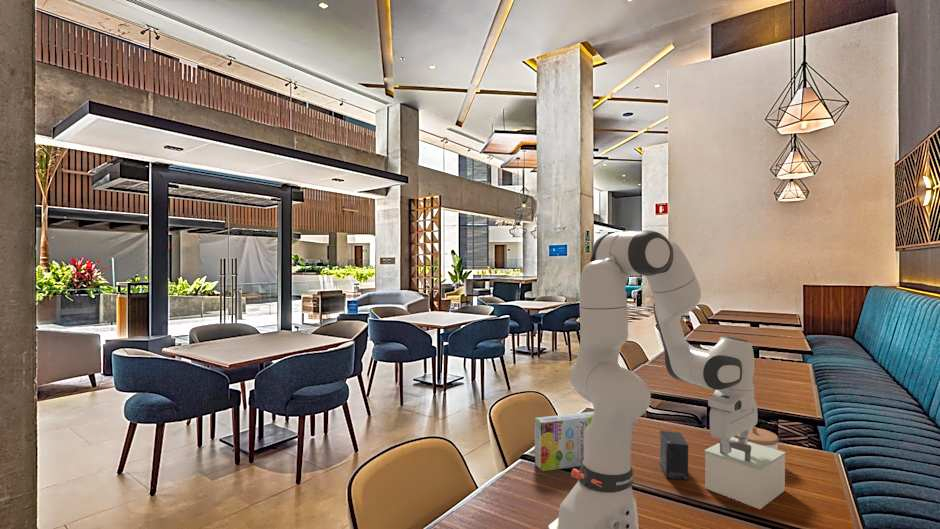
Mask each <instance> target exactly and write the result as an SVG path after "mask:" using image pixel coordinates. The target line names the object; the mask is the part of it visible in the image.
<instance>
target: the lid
mask: <svg viewBox="0 0 940 529" xmlns="http://www.w3.org/2000/svg"><path fill="white" fill-rule="evenodd" d="M729 444H730V446H731V452H730V453H729V454H726V453H723V452H722V445H721V442H720V440H719V439H718V443H716V444H714V445H712V446H710V447H708V448H706V449H704V451H703V453H704V454H705V453H708V454H711V455H714V456H717V457H720V458H723V459H726V460H729V461H732V462H736V463H739V464H742V465H745V466H748V467H751V468H754V469H757V470H760V471H761V470H762V469H764V468H765V467H767V466H769V465H770V464H772V463H773V462H775V461H776V460H778V459H779V458H781V457H783V456H784V455H785V456H786V454H787V452H786V451H783V450H779V449H778V450H776V449H773V448H769V447H766V446H762V445H759V444H755V443H752V442H748V441H747V444H744V443H740V442H738V438H734V437H731V438H730V441H729Z"/></svg>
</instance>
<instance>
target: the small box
mask: <svg viewBox="0 0 940 529" xmlns="http://www.w3.org/2000/svg"><path fill="white" fill-rule="evenodd" d="M659 434H660V435H659V440H660V441H659V450H660V451H659V466H660V468H661V470H662V472H663V474H664V477H665V478H666V479H674V480H683V481H685V480H686V481H688V479H689V444H688V442H687V441H686V439H685V438H684V436H683V434H682V433H681V432H678V431H667V430H660V431H659Z"/></svg>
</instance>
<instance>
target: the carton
mask: <svg viewBox="0 0 940 529" xmlns="http://www.w3.org/2000/svg"><path fill="white" fill-rule="evenodd" d="M704 456H705V457H704V460H705V461H704V462H705V463H704V464H705V465H704V466H705V467H704V468H705V469H704V471H705V473H704V476H705V477H704V484H705V485H704V488H705V489H706V490H709V491H710V492H713V493H716V494H718V495H722V496H724V497H726V496H727V498H729V499H731V498H732V500H734V499H735V500H734V501H737V502H739V501H740V503H743V504H745V505H747V506H750V507H753V508H756V509H758V510H761V509H763V508H764V507H765V506H766V505H768V504H769V503H770V502H772V501H773V500H774V499H775V498H777V497H779V496H780V495H782V493H784V492H785V490H786V482H785V481H786V455H784V456H783V457H781V458H779V459H778V460H776V461H775V462H773V463H772V464H770V465H769V466H767V467H765V468H764V469H762V470H761V471H760V470H757V469H754V468H751V467H748V466H745V465H742V464H739V463H736V462H732V461H729V460H726V459H723V458H720V457H717V456H714V455H711V454H708V453H705V452H704Z"/></svg>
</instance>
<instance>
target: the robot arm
mask: <svg viewBox="0 0 940 529" xmlns="http://www.w3.org/2000/svg"><path fill="white" fill-rule="evenodd" d="M589 261H590V262H589V263H587V264H586V265H585V266H583V268H582V271H581V276H580V282H579V294H578V295H579V300H578V301H579V322H580V325H579V326H580V338H579V339H580V341H579V347H578V351H577V357H576V360H575V362H574V363H573V364H572V365H571V367H570V370H569V375H568V376H569V378H568V379H569V382H570V384H571V386H572V388H573V389H574V391H576V393H577V394H578V395H579V396H580V397H581V398H583V399H584V400H586V401H588V402H589V403H590V404H592V406H593V412H594V413H593V418H592V421H591V424H590V425H588V426H587V427H586V428H585V430H584V434H583V438H584V460H583V462H582V465H581V466H580V468H579V469H577V468H576V467H573V469H572V471H571V473H570V475H571V477H572V478H574V479H576V480H577V482H576V483H575V484H574V486H573V487H572V489H571V490H570V491H569V493H567V495H566V497H565V498H564V499H563V500H562V502H561V503H560V504H559V510H558V517H557V518H556V519H554V521H552V522H550V523H549V524H548V526H547V529H640V528H639V518H638V507H637V501H636V498H635V497H636V496H635V495H634V492H633V487H632V486H633V483H634V473H633V472H634V471H633V469H634V468H633V466H632V463H631V461H632V457H631V455H632V438H633V437H632V436H633V431H634V428H635V426H636V422H637V420H638V419H639V418H641V417H642V416H643V415H644V414H645V413H646V412H647V410H648V409H649V406H650V404H651V397H652V394H651V390H650V387H649V386H648V384H647V383H646V382H645V381H644V380H643V379H642V378H641V377H640V376H639V375H638V374H636V372H633V371H632V370H630V369H627V368H625V367H623V366H620V365H619V356H620V352H621V349H622V346H623V345H624V344H625V343H626V342H627V341H628V339H629V323H628V321H629V319H628V302H627V301H628V300H627V293H626V288H627V287H626V286H627V284H628V280H629V278H630V277H639V276H643V277H645V278H646V280H647V284H648V285H649V288H650V291H651V293H652V296H653V299H654V304H653V313H654V314H653V316H654V319H655V322H656V327H657V329H658V330H657V331H658V333H659V336H660V340H661V343H662V346H663V351H664V360H665V367H666V370H667V373H668V375H670V377H671V378H673V379H675V380H677V381H680V382H685V383H690V384H693V385H695V386H700V387H703V388H706V389H709V390H714V392H713V393H712V395H711V396H710V397H708V401H707V402H708V403H707V405H708V407H710V411H709V433H710V435H711V437H712V438H714V439H717V440H718V441H719V440H720V442H721V445H722V452H723V453H726V454H729V453H730V452H731V446H730V444H729V441H730V438H731V437H733V436H735V435H737V434H739V433H740V436H739V437H738V442H740V443H744V444H747V438H748V435H749V432H750V428H751V427H756V425H757V424H758V420H759V418H758V404H757V401H756V400H755V385H754V381H753V378H754V374H755V354H754V353H755V352H754V349H753V345H752V343H751V341H748V339H744V338H738V337H734V336H729V335H728V336H727V335H723V336H721V337H719V339H718V342H717V343H716V344H715V345H713V346H712V347H710V348H708V349H701V348H698V347H695V346H693V345H691V344H690V343H689V342H688V341H687V340H686V338H685V333H684V330H683V326H682V323H681V320H680V319H681V317H682V316H685V315H686V314H688V313H690V312H691V311H693V310H694V309H695V308H696V307H697V306H698V305H699V302H700V300H701V297H702V292H701V287H700V284H699V280H698V279H697V276H696V273H695V271H694V269H693V267H692V265H691V264H690V261H689V259H688V258H687V256H686V255H685V253H684V252H683V250H682V248H681V247H680V246H679V245H678V243H676V242H674V241H672V240H669V239H668V238H667V237H666V236H665V235H663V234H662V233H661V232H658V231H655V230H646V229H645V230H631V229H629V230H628V229H626V230H621V231H617V232H608V233H606V234H603V235H601V236H600V237H599V238H598V239H597V240H596V241H595V242H594V244H593V245H592V250H591V257H590V260H589Z"/></svg>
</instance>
